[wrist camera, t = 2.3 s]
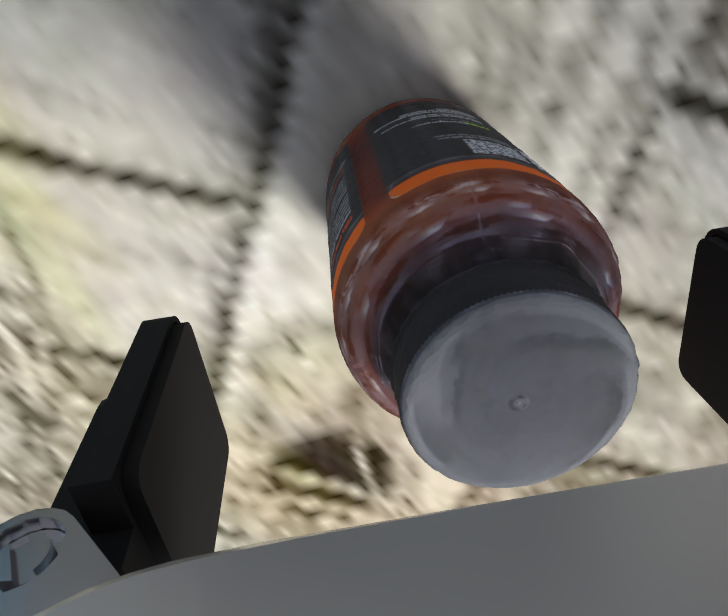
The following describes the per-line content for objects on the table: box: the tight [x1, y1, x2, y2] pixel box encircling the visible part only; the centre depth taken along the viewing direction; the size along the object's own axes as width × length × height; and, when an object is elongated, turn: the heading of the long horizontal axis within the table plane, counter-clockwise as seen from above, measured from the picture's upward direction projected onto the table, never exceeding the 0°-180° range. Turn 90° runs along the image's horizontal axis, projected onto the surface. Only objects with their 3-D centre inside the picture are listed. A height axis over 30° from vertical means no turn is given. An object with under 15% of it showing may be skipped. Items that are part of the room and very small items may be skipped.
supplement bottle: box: [326, 99, 640, 488], centre depth 15 cm, size 6×6×11 cm
